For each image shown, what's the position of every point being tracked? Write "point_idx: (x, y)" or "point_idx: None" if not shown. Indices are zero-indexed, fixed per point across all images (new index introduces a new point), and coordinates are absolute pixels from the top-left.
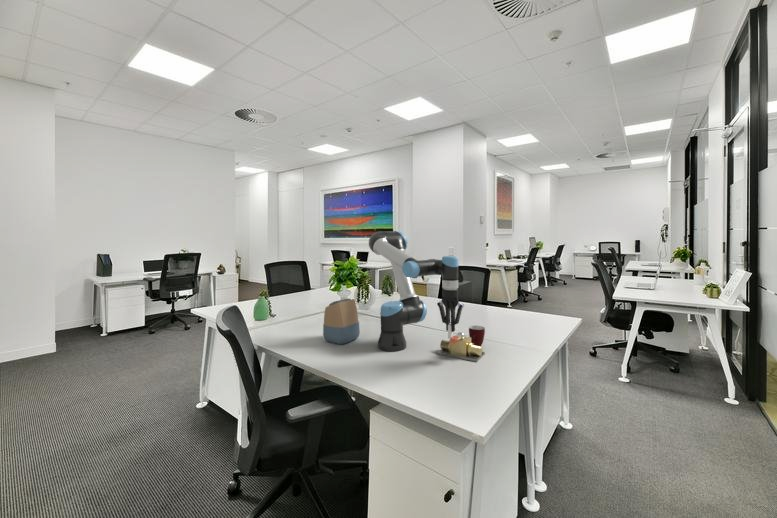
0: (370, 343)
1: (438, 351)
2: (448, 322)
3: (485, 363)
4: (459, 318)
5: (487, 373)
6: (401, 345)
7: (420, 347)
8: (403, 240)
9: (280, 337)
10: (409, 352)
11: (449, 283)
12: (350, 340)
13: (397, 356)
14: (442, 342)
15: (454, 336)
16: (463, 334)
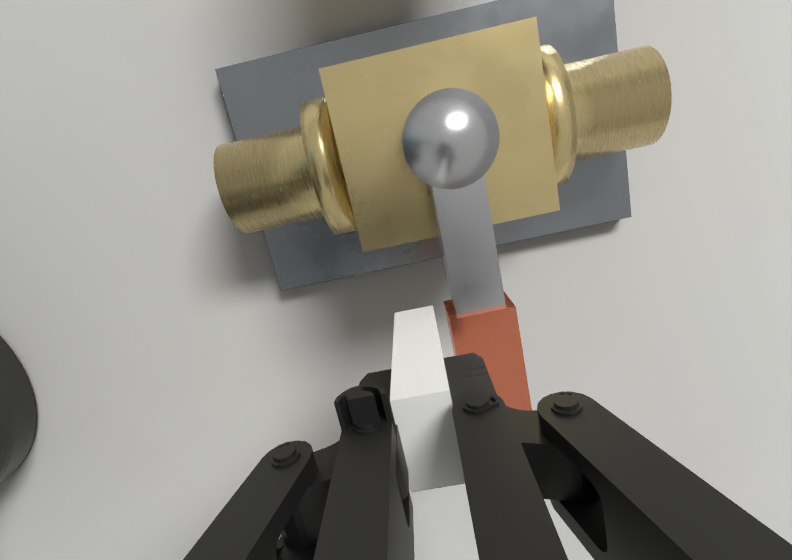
0: None
1: (278, 269)
2: (410, 505)
3: (691, 192)
4: (669, 472)
5: (766, 347)
6: (4, 425)
7: (73, 251)
8: None
9: None
10: (113, 397)
11: None
12: None
13: (125, 502)
14: (253, 221)
15: (472, 338)
16: (497, 147)
